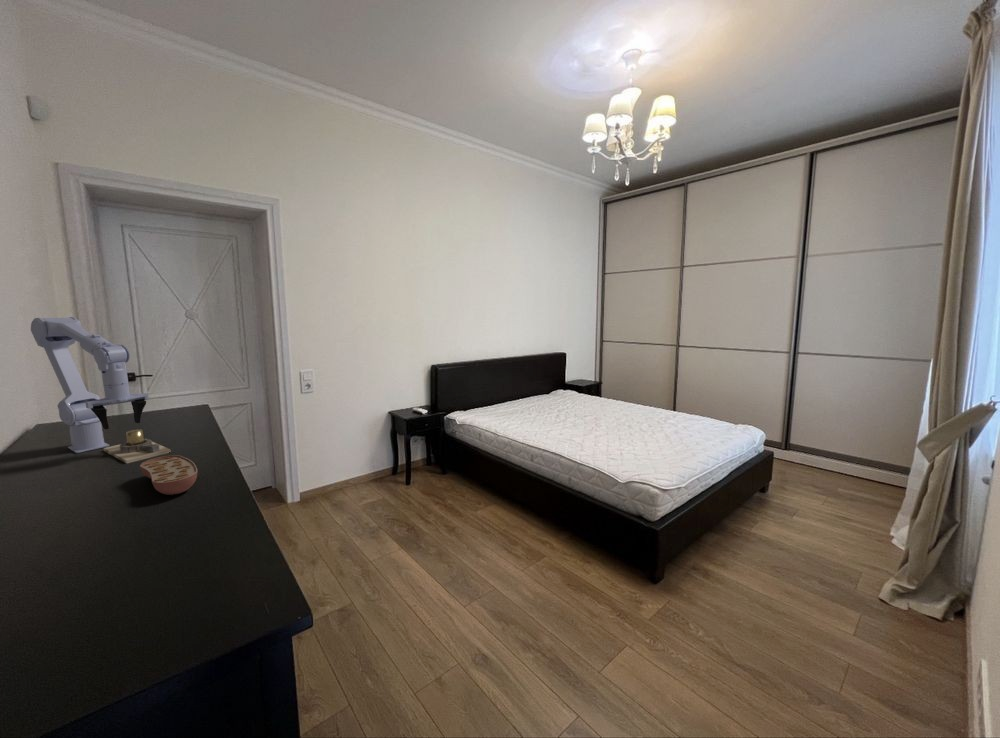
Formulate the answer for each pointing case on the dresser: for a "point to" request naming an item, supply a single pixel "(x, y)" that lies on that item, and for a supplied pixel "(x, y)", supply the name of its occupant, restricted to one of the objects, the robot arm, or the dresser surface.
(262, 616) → the dresser surface
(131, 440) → the cylinder
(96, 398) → the robot arm
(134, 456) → the coupling plate
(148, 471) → the anatomical model
